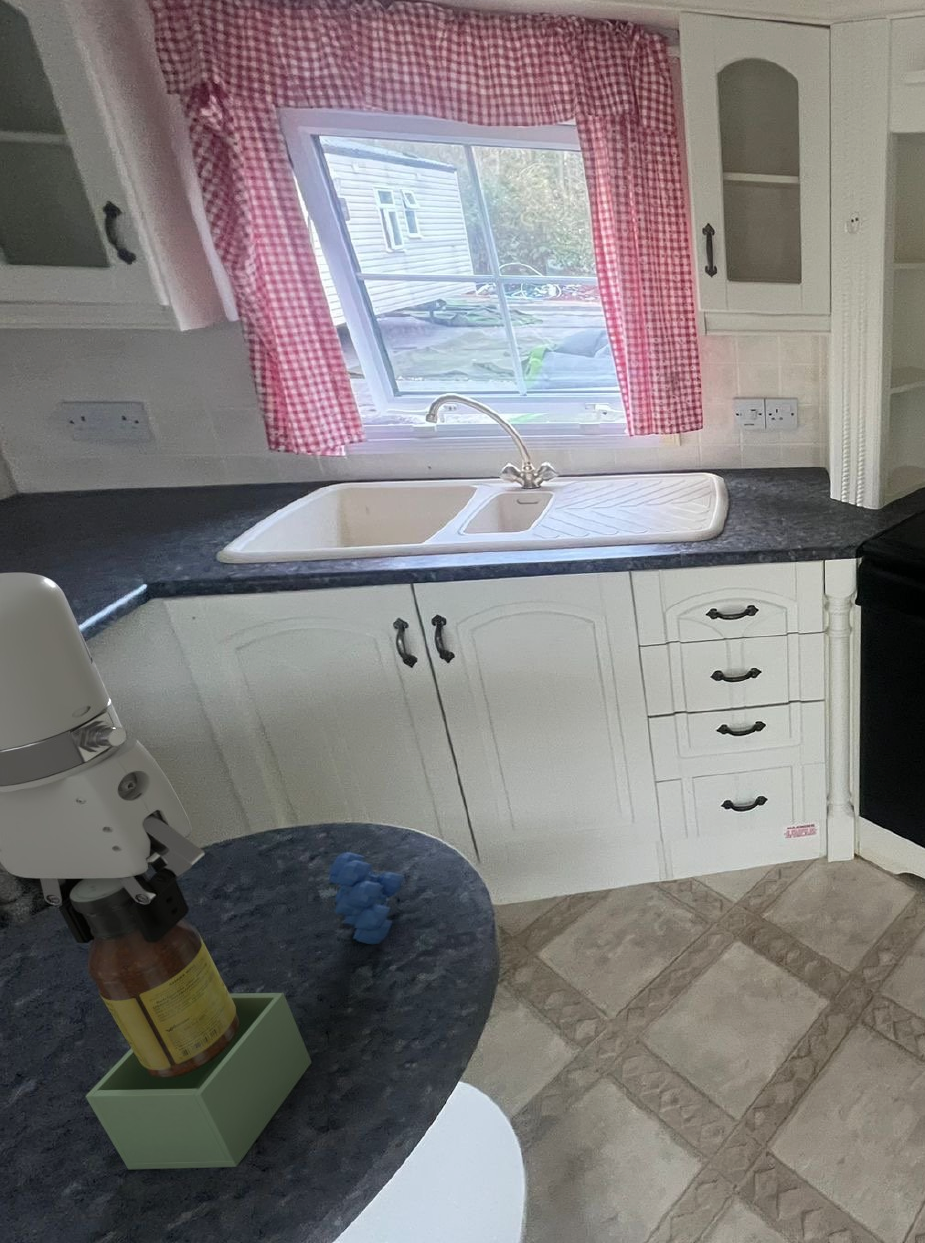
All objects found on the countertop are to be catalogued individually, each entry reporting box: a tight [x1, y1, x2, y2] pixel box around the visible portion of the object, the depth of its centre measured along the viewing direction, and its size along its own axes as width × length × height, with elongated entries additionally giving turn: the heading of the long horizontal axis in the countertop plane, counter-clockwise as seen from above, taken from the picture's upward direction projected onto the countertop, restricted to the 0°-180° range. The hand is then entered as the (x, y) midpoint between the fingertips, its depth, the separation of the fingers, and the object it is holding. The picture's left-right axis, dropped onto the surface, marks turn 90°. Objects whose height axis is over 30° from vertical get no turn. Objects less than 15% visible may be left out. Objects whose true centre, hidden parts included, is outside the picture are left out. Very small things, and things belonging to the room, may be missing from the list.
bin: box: [84, 992, 312, 1170], centre depth 67 cm, size 9×9×10 cm
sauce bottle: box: [70, 871, 239, 1078], centre depth 62 cm, size 7×6×20 cm
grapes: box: [328, 851, 405, 945], centre depth 85 cm, size 12×7×12 cm, turn 51°
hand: (134, 926), depth 60 cm, fingers closed on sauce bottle, 4 cm apart
